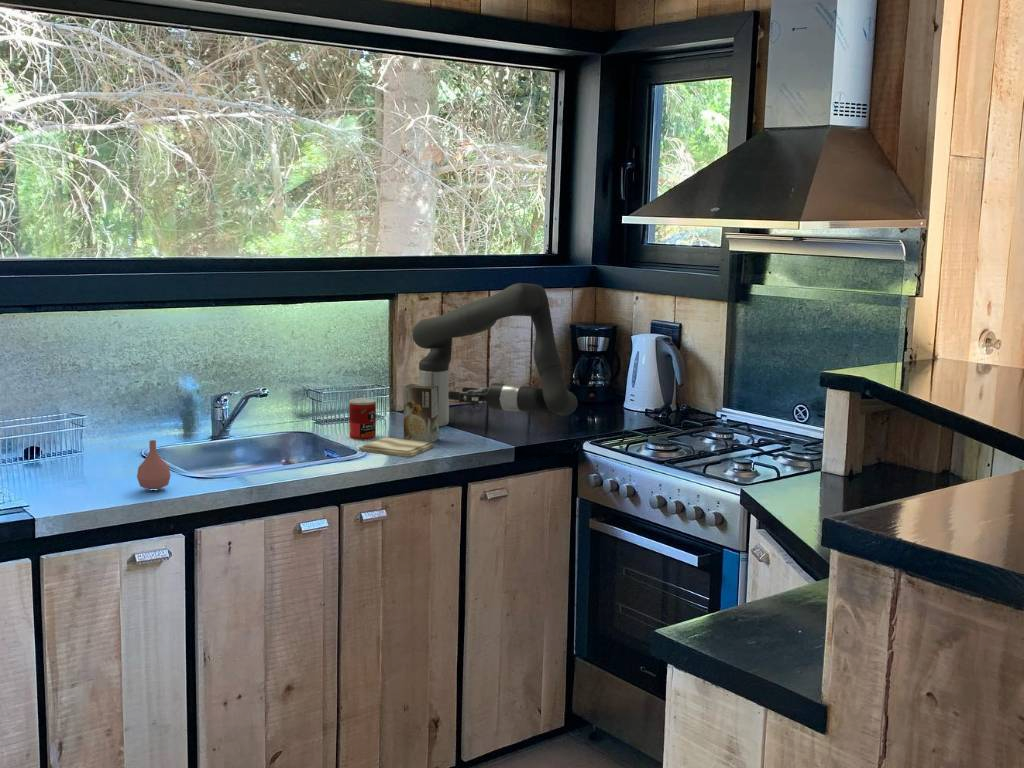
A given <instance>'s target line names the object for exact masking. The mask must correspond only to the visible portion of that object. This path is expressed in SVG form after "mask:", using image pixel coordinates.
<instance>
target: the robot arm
mask: <svg viewBox="0 0 1024 768" xmlns="http://www.w3.org/2000/svg"><path fill="white" fill-rule="evenodd" d="M514 316H515V317H517V316H518V317H519V316H520V317H530V319H531V322H532V323H533V325H534V329H535V341H534V346H533V347H534V348H533V359H534V363H535V367H536V369H537V372H538V375H539V378H540V382H541V387H537V386H527V385H519V384H513V383H512V384H511V383H500V382H492V383H491V384H490V385H489V386H488V387H487V386H476V387H470V386H469V387H466V386H464V387H462V389H461V391H454V390H453V391H450V390H449V374H450V373H449V366H450V363H451V360H452V351H453V349H452V347H453V338H460V337H467V336H472V335H476V334H479V333H483V332H485V331H488V330H489V329H491V328H493V326H495V324H496V322H497V321H498V320H501V319H504V318H509V317H514ZM553 327H554V326H553V321H552V316H551V309H550V303H549V298H548V295H547V292H546V290H545V288H544V287H543V286H541V285H540V284H535V283H524V282H517V283H514V284H512V285H509V286H508V287H507V286H506V287H505V288H504V289H502V290H500V291H498V292H497V293H494V294H493V295H490V296H487V297H486V296H485V297H483V298H481V299H477V300H474V301H471V302H468V303H466V304H464V305H461V306H459V307H457V308H455V309H452V310H450V311H448V312H446V313H444V314H441V315H438V316H435V317H430V318H429V317H428V318H425V319H420V320H419V321H418V322H416V324H415V325H414V327H413V329H412V340H413V342H414V343H415V345H417V346H418V347H419V348H422V349H425V350H426V349H427V350H429V352H428V353H427V355H426V356H424V357H423V358H422V359H420V360H419V362H418V384H420V385H435V386H438V410H439V427H445V426H447V425H448V424H449V422H450V421H449V420H450V400H455V401H458V403H459V404H460V403H461V404H462V403H463V404H464V403H466V404H476V405H477V404H485V403H487V406H488V408H489V409H490V410H498V411H508V412H529V413H530V412H531V413H544V414H549V415H556V416H563V417H564V416H565V417H566V416H570V415H571V414H573V413H574V412H575V411H576V410H577V407H578V399H577V396H576V395H575V394H574V393H573V392H571V391H570V390H567V387H566V384H565V381H564V379H565V376H566V373H565V372H566V371H565V367H564V366H563V363H562V360H561V356H560V354H559V350H558V348H557V343H556V339H555V335H554V328H553ZM465 397H466V398H465Z"/></svg>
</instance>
